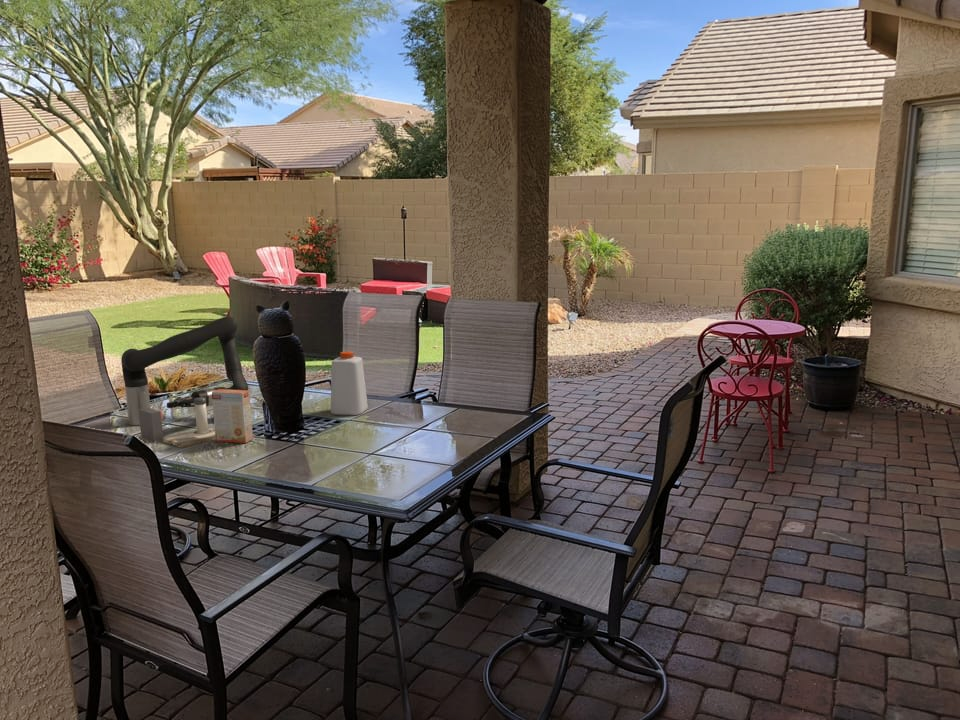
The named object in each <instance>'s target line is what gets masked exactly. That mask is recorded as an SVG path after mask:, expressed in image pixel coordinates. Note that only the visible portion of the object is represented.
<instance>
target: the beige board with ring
mask: <svg viewBox="0 0 960 720" xmlns="http://www.w3.org/2000/svg"><path fill="white" fill-rule="evenodd" d="M162 439H163V440H162V443H165V442H167V443H166V444H168V443H170V444H169V445H171V444H173V445H172V446H174V445H177V446H180V447H179V448H181V447H183V448H185V447H184V446H187V447H189V446H188V445H191V446H193V445H192V444H194V445H196V444H195V443H198V444H200V443H199V442H202V443H204V442H203V441H205V442H208V441H207V440H209V441H212V440H211V439H213V440H216V437H215V428H211V427H208V431H207V432H204V433H198V432H197V429H193V430H191V431H187V432H183V433H178V434H174V435H171V436H167V437H163V438H162ZM177 446H176V447H177Z"/></svg>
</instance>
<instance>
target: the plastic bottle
mask: <svg viewBox="0 0 960 720" xmlns="http://www.w3.org/2000/svg"><path fill="white" fill-rule="evenodd" d="M363 362H364V361H363V358H362V357H360V356H354V352H353V351H350V350H349V351H341V352H340V353H339V357H336V358H334V359H333V360H332V361H331V376H330V378H331V379H330V381H331V382H330V383H331V384H330V413H331V414H332V415H335V416H359V415H362V414H363V413H364V412H365V411H366V410H368V407H369V405H368V398H367V389H366V381H365V372H364V363H363Z"/></svg>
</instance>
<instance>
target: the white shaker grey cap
mask: <svg viewBox="0 0 960 720" xmlns="http://www.w3.org/2000/svg"><path fill="white" fill-rule="evenodd" d="M194 404H195V407H194V412H195V413H194V414H195V424H196V430H197V432H198V433H204V432H207V431H208V428H209V422H208V414H207V413H208V412H207V407H206V398H204V397H200V398H195V399H194Z"/></svg>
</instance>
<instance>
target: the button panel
mask: <svg viewBox="0 0 960 720" xmlns="http://www.w3.org/2000/svg"><path fill="white" fill-rule="evenodd" d="M158 410H159V409H154V408H151V407H150V408H145V409H140V410H139V419H140V425H139V427H140V436H141V437H142V438H141V439H143V440H144V439H145V440H147V441H149V442H153V441H156V442H159V441H158V440H160V441H162V440H161V439H162V438H164V432H163V420H161V411H162V410H161V411H158Z"/></svg>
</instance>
